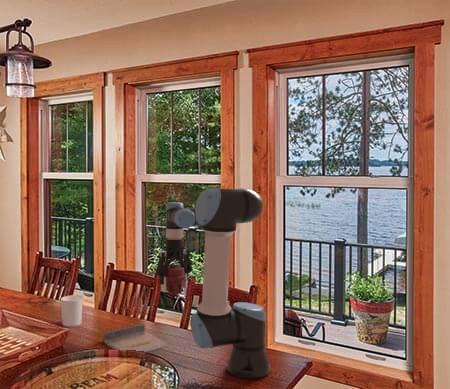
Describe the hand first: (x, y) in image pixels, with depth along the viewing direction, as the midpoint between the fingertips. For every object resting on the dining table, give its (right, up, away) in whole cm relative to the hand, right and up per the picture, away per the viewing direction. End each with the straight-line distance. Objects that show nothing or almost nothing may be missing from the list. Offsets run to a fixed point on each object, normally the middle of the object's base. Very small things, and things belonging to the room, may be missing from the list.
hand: (174, 289), depth 191 cm
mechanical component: (0, -2, 0) cm, 2 cm away
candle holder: (-49, -19, +13) cm, 54 cm away
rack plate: (-15, -20, -11) cm, 27 cm away
